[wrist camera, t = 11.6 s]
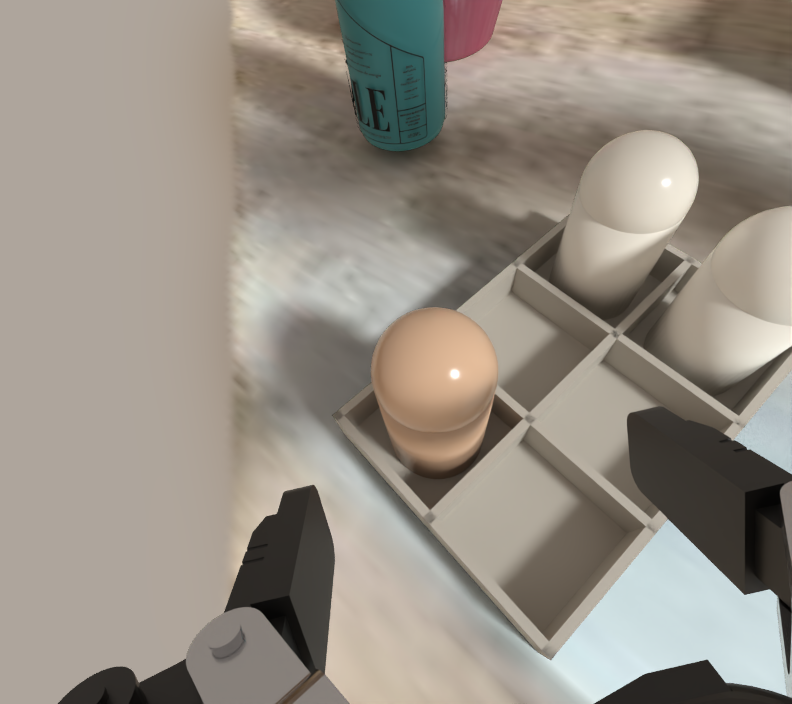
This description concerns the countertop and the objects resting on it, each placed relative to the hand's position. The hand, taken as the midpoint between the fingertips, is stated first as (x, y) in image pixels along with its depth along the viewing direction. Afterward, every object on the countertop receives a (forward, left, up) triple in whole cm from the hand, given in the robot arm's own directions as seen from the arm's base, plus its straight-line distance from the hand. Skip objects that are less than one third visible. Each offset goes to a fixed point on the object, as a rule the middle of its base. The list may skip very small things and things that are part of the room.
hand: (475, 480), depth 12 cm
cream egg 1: (-15, -4, -10) cm, 19 cm away
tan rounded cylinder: (-2, -4, -10) cm, 11 cm away
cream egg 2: (-15, +2, -10) cm, 18 cm away
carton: (-9, -1, -11) cm, 14 cm away
